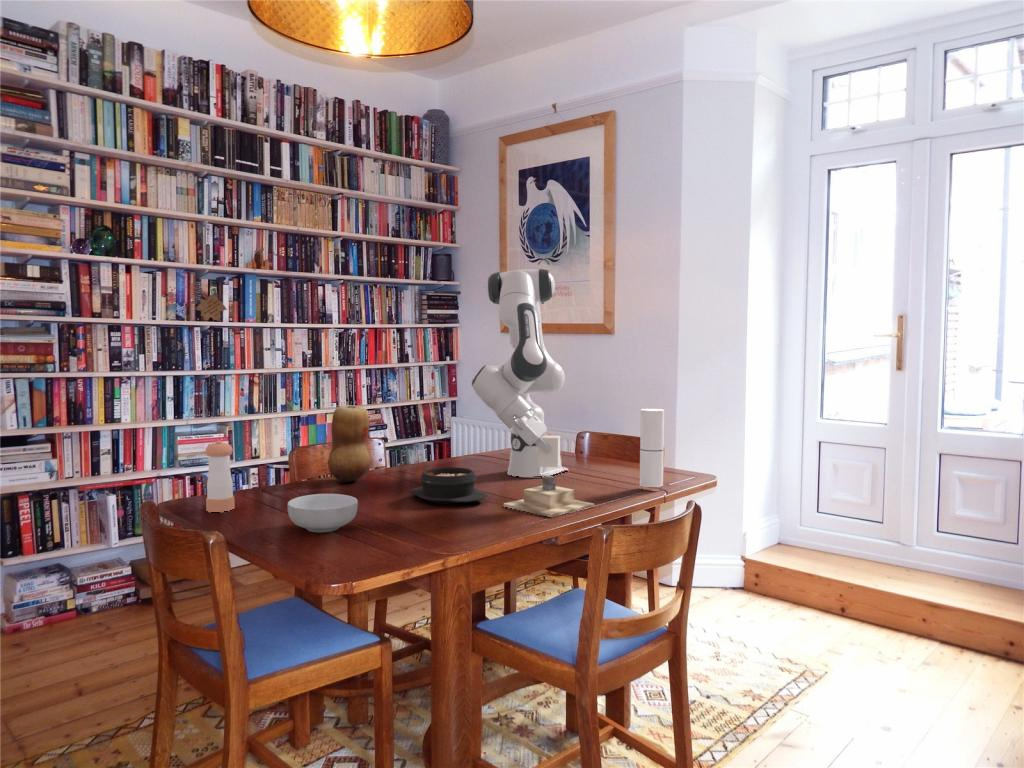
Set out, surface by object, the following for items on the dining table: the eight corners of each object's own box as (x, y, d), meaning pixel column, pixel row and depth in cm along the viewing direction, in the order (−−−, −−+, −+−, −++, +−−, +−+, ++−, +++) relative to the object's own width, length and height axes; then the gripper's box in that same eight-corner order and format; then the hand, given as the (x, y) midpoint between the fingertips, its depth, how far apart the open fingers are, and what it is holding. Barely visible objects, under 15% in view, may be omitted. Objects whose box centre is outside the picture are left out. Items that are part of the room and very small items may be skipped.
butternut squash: (361, 486, 236) (360, 408, 234) (321, 484, 238) (320, 407, 237) (376, 478, 250) (375, 404, 248) (338, 476, 252) (337, 403, 250)
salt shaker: (221, 513, 200) (220, 443, 199) (200, 511, 203) (198, 441, 201) (240, 507, 207) (238, 439, 206) (219, 505, 209) (217, 438, 208)
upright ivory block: (540, 463, 211) (540, 435, 211) (560, 463, 210) (560, 435, 210) (537, 466, 206) (537, 437, 205) (557, 467, 205) (558, 438, 204)
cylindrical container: (637, 490, 231) (638, 410, 230) (642, 486, 238) (643, 408, 236) (660, 492, 229) (661, 411, 227) (664, 487, 235) (666, 409, 234)
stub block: (546, 497, 221) (547, 468, 221) (594, 507, 209) (594, 477, 208) (503, 507, 209) (503, 477, 208) (551, 518, 196) (551, 486, 195)
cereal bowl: (292, 540, 175) (292, 511, 174) (284, 524, 190) (283, 496, 189) (364, 533, 181) (364, 504, 181) (350, 517, 197) (350, 491, 196)
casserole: (395, 499, 219) (395, 471, 218) (440, 489, 233) (439, 462, 232) (457, 512, 203) (457, 481, 202) (501, 500, 217) (501, 472, 217)
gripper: (518, 409, 198) (554, 447, 197) (530, 403, 218) (563, 437, 217) (501, 425, 199) (537, 463, 198) (515, 417, 219) (547, 451, 218)
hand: (551, 449), depth 207 cm, fingers closed on upright ivory block, 6 cm apart
